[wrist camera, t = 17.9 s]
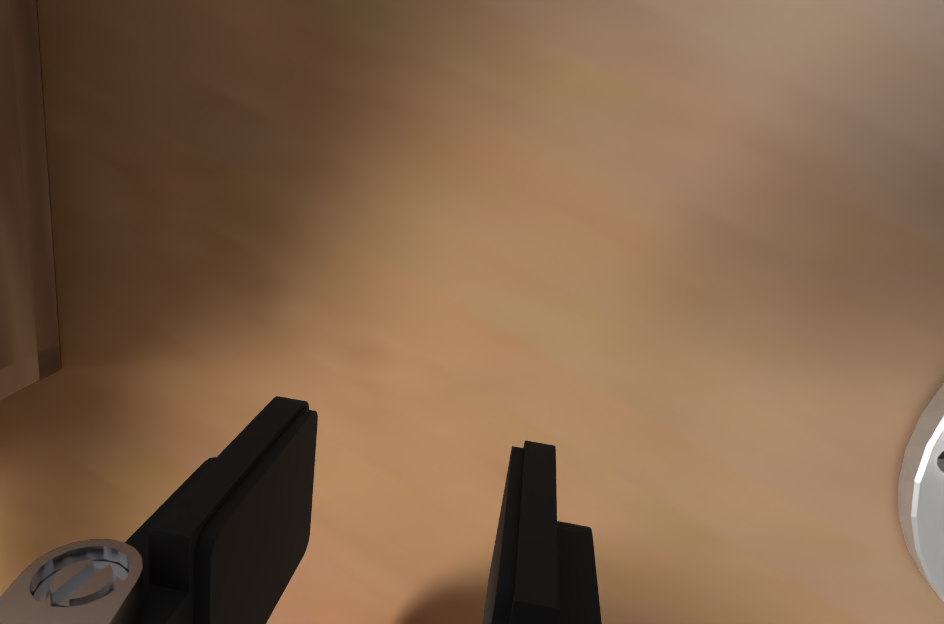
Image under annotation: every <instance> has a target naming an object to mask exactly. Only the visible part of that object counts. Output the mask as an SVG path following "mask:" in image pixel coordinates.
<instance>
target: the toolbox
mask: <svg viewBox="0 0 944 624" xmlns="http://www.w3.org/2000/svg"><path fill="white" fill-rule="evenodd" d="M60 369H61V357H60V342H59V328H58V313H57V298H56V283H55V269H54V254H53V239H52V224H51V210H50V195H49V180H48V165H47V151H46V136H45V121H44V107H43V92H42V77H41V62H40V48H39V33H38V18H37V3H36V0H0V400H2V399H4V398H5V397H7V396H9V395H11V394H13V393H15V392H17V391H19V390H21V389H23V388H25V387H27V386H29V385H31V384H33V383H35V382H37V381H39V380H41V379H42V378H44V377H46V376H48V375H50V374H52V373H54V372H56V371H58V370H60Z"/></svg>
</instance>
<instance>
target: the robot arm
mask: <svg viewBox="0 0 944 624" xmlns="http://www.w3.org/2000/svg"><path fill="white" fill-rule="evenodd" d="M317 421H318V416H317V412H316V411H312V410H309V405H308V403H307V401H301V400H295V399H290V398H284V397H278V396H276V397H275V398H273V400H272V401H271V402H270V403H269V404H268V405H267V406H266V407H265V408H264V409H263V410H262V411H261V412H260V413H259V414H258V415H257V416H256V417H255V418H254V419H253V420H252V421H251V422H250V423H249V424H248V425H247V427H246V428H245V429H244V430H243V431H242V432H241V433H240V434H239V435H238V436H237V437H236V438H235V439H234V440H233V441H232V442H231V443H230V444H229V445H228V446H227V447H226V448H225V449H224V450H223V451H222V453H221V454H220V455H219V456H218V457H217V458H216V457H214V458H209V459H208V460H206V461H205V462H204V463H203V464H202V465H201V466H200V467H199V468H198V469H197V470H196V471H195V472H194V473H193V474H192V475H191V476H190V477H189V478H188V479H187V480H186V481H185V482H184V483H183V484H182V485H181V486H180V487H179V488H178V489H177V490H176V491H175V492H174V493H173V494H172V495H171V496H170V497H169V498H168V499H167V500H166V501H165V502H164V503H163V504H162V505H161V506H160V507H159V508H158V509H157V511H156V512H155V513H154V514H153V515H152V516H151V517H150V518H149V519H148V520H147V521H146V522H145V523H144V524H143V525H142V526H141V527H140V528H139V529H138V530H137V531H136V532H135V533H134V534H133V535H132V536H131V537H130V538H129V539H128V540H127V541H126V542H121V541H116V540H111V539H90V540H85V541H79V542H74V543H71V544H68V545H65V546H62V547H59V548H56V549H54V550H52V551H50V552H48V553H47V554H45V555H43V556H41V557H40V558H38V559H37V560H35V561H34V562H33V563H32V564H31V565H30V566H28V567H27V568H26V569H25V570H24V571H23V572H22V573H21V574H20V575H19V576H18V578H17V579H16V580H15V581H14V582H13V583H12V584H11V585H10V586H9V588H8V589H7V590H6V591H5V592H4V593H3V594H2V595H1V596H0V624H266V623H267V621H268V619H269V617H270V615H271V613H272V612H273V610H274V608H275V606H276V604H277V603H278V601H279V599H280V597H281V595H282V594H283V592H284V590H285V588H286V586H287V585H288V583H289V581H290V579H291V577H292V576H293V574H294V572H295V570H296V568H297V567H298V565H299V563H300V561H301V559H302V557H303V556H304V553H305V551H306V548H307V545H308V541H309V536H310V523H311V509H312V494H313V479H314V465H315V450H316V435H317ZM898 502H899V520H900V523H901V527H902V531H903V535H904V538H905V542H906V546H907V549H908V551H909V553H910V554H911V556H912V558H913V560H914V562H915V563H916V565H917V567H918V569H919V571H920V572H921V574H922V576H923V577H924V579H925V580H926V581H927V582H928V584H929V585H930V586H931V587H932V588H933V590H934V591H935V592H936V593H937V595H938V596H939V597H940V598H941V600H942V601H943V602H944V383H943V384H942V386H941V387H940V389H939V390H938V391H937V393H936V394H935V396H934V397H933V398H932V400H931V401H930V403H929V404H928V406H927V407H926V408H925V410H924V411H923V413H922V414H921V416H920V418H919V421H918V423H917V425H916V427H915V429H914V432H913V434H912V436H911V438H910V440H909V443H908V445H907V447H906V450H905V454H904V459H903V463H902V468H901V473H900V477H899V482H898ZM483 624H601V614H600V605H599V595H598V585H597V575H596V566H595V556H594V546H593V536H592V531H591V528H590V527H586V526H581V525H575V524H570V523H564V522H559V521H557V501H556V449H555V446H553V445H547V444H542V443H536V442H531V441H525V443H524V447H523V448H519V447H513V446H512V450H511V455H510V461H509V467H508V472H507V478H506V484H505V489H504V495H503V501H502V506H501V512H500V518H499V524H498V529H497V535H496V541H495V546H494V552H493V558H492V563H491V569H490V575H489V581H488V588H487V596H486V603H485V611H484V619H483Z"/></svg>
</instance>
